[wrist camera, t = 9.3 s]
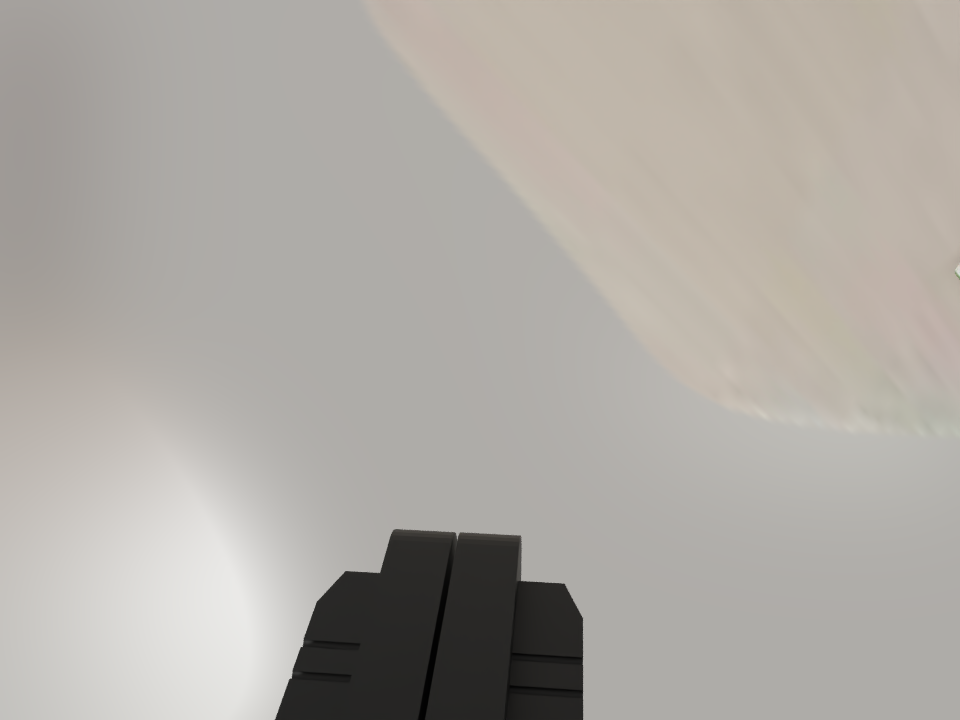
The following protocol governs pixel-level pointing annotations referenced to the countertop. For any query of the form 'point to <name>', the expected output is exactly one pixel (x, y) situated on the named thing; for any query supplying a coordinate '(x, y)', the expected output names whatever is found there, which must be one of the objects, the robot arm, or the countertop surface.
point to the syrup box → (958, 271)
